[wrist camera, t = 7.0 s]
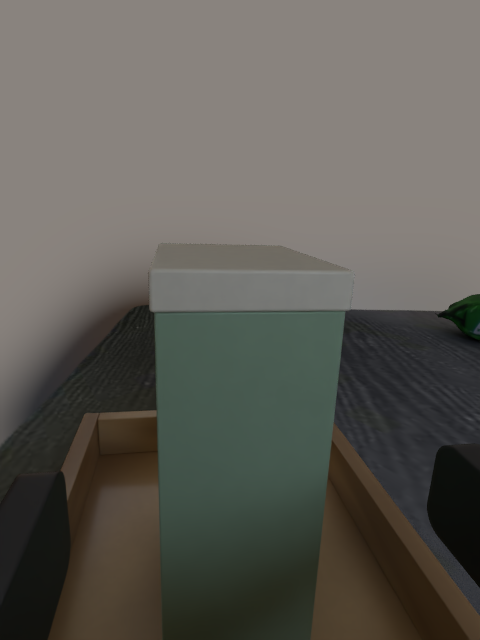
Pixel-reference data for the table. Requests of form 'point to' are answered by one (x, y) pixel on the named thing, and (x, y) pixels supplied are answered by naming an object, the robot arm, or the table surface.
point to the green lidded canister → (243, 434)
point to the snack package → (465, 315)
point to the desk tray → (334, 560)
